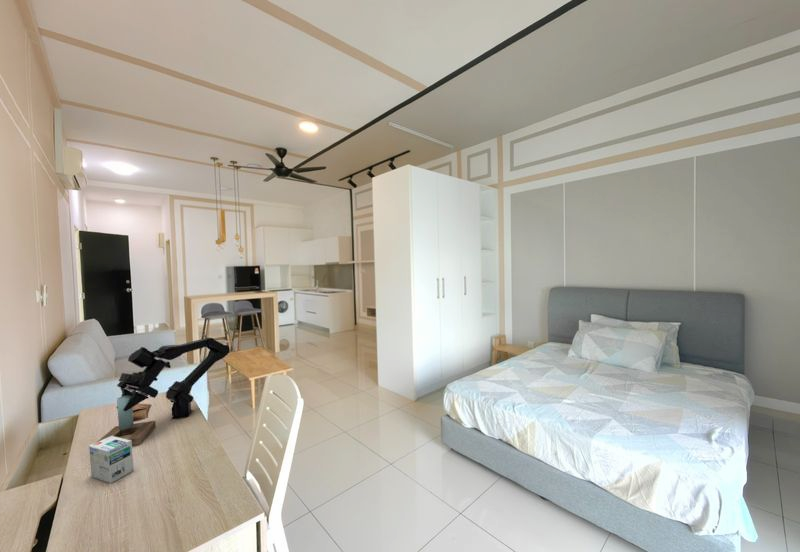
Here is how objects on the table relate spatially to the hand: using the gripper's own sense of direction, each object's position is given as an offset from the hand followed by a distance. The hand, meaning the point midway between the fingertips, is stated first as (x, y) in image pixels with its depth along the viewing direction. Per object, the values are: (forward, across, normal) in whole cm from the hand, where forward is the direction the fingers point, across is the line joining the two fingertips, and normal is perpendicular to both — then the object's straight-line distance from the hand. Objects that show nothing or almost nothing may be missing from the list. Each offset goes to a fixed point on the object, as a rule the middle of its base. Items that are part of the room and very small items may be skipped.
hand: (120, 409), depth 122 cm
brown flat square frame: (+8, 0, +10) cm, 13 cm away
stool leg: (+4, 0, +6) cm, 8 cm away
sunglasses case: (-2, -21, +21) cm, 30 cm away
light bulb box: (+18, +21, 0) cm, 28 cm away
